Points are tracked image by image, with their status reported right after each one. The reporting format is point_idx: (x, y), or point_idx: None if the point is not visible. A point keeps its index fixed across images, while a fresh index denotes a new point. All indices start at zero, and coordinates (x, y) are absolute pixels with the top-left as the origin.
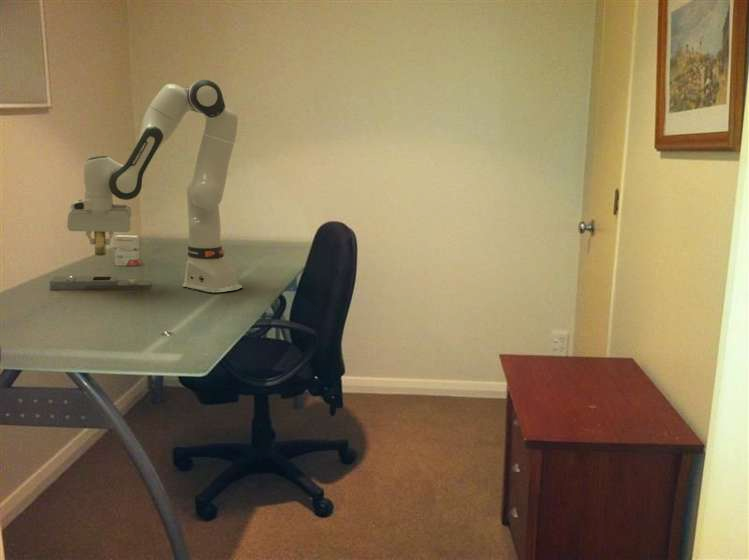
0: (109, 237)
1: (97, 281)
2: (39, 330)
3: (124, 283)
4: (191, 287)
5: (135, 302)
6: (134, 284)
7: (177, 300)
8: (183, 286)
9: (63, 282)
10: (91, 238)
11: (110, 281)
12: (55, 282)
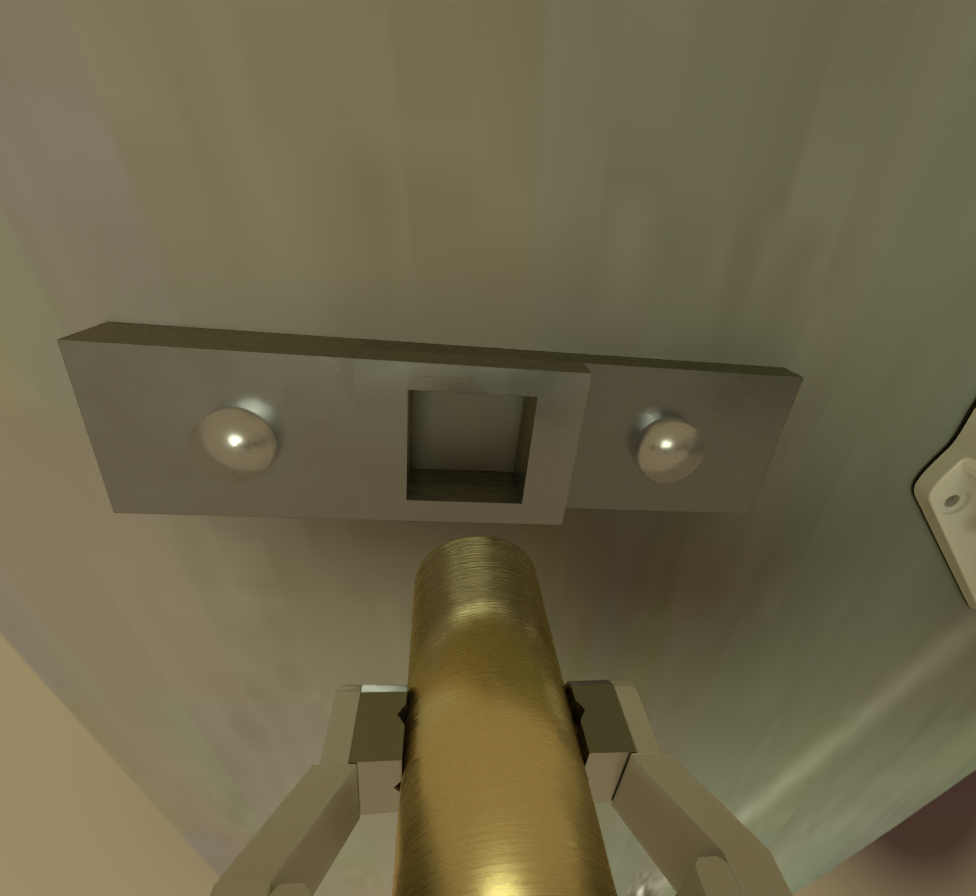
0: (651, 848)
1: (443, 519)
2: (322, 888)
3: (610, 468)
4: (942, 537)
5: None
6: (665, 497)
7: (780, 679)
8: (921, 499)
9: (214, 511)
10: (350, 820)
11: (526, 522)
12: (157, 509)
